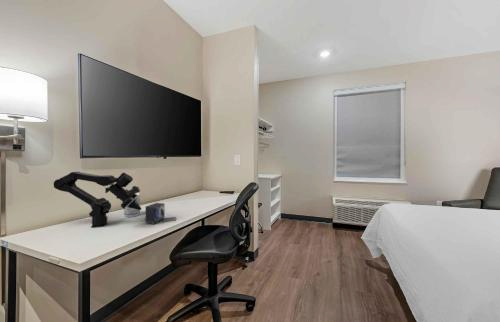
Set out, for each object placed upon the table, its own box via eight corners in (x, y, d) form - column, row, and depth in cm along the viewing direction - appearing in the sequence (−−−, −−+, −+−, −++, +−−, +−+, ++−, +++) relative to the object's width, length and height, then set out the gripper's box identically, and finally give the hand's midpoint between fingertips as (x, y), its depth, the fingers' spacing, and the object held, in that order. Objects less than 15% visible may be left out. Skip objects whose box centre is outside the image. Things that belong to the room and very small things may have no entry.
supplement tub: (123, 215, 141) (123, 193, 141) (138, 213, 147) (138, 192, 147) (124, 218, 134) (124, 196, 133) (141, 216, 139) (141, 194, 139)
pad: (162, 222, 127) (162, 221, 127) (162, 218, 134) (162, 218, 134) (176, 220, 130) (176, 220, 130) (175, 217, 137) (175, 217, 137)
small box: (154, 224, 122) (154, 207, 121) (144, 224, 123) (144, 206, 123) (165, 219, 132) (165, 203, 132) (156, 218, 133) (156, 202, 133)
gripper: (127, 184, 113) (149, 202, 117) (133, 180, 131) (152, 196, 135) (111, 199, 111) (134, 217, 115) (119, 193, 128) (139, 209, 132)
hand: (141, 209), depth 124 cm, fingers closed
